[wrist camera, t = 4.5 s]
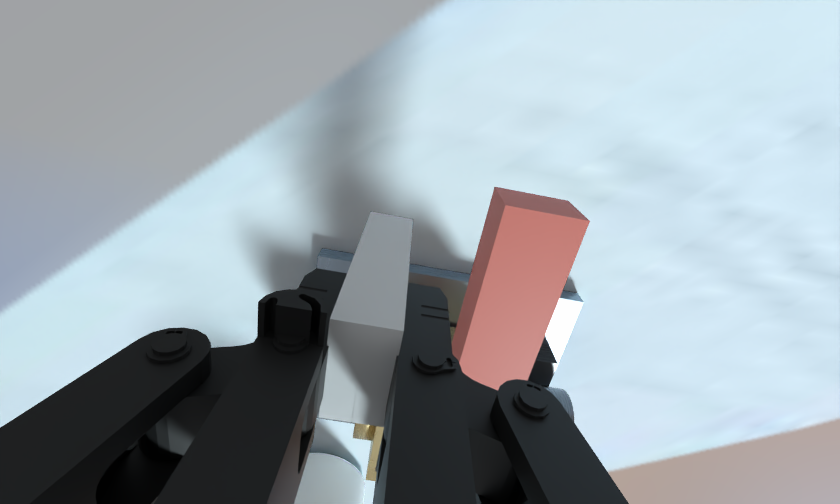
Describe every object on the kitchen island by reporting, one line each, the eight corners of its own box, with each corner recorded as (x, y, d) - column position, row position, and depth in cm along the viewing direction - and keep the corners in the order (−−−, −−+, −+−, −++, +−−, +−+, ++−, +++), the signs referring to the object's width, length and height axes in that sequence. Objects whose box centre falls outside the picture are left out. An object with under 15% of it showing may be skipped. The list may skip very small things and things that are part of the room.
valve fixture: (307, 401, 33) (265, 521, 24) (322, 248, 27) (274, 333, 18) (519, 433, 34) (552, 557, 25) (577, 293, 28) (644, 392, 20)
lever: (454, 486, 22) (458, 555, 19) (407, 479, 22) (404, 549, 19) (555, 188, 15) (589, 221, 12) (488, 176, 15) (505, 205, 12)
